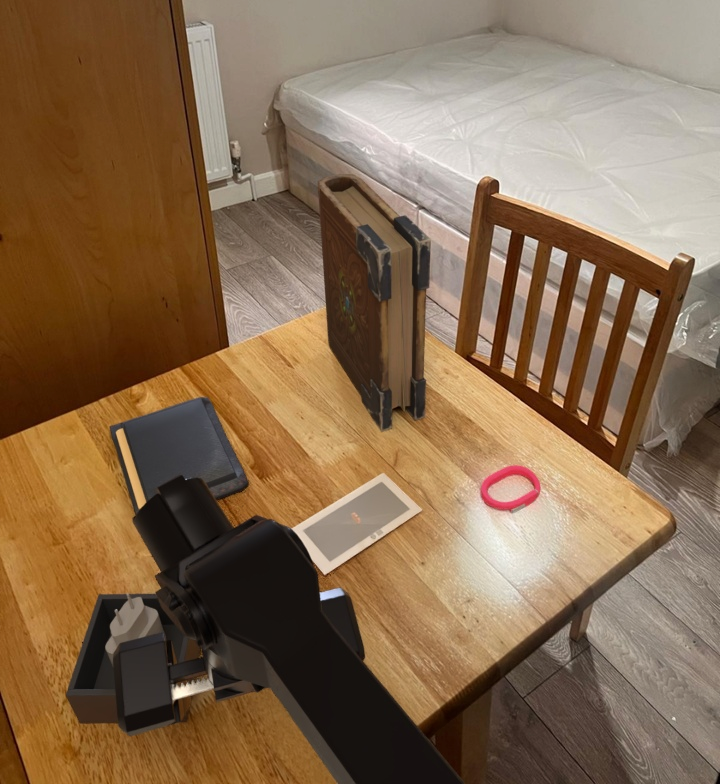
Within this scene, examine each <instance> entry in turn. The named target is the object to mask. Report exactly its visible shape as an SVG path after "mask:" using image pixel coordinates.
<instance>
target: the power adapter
mask: <svg viewBox="0 0 720 784" xmlns="http://www.w3.org/2000/svg"><path fill="white" fill-rule="evenodd" d="M125 594H126V595H127V598H128V601H127V602H126V603H125V604H124V605H123V607H122V608H121V610H120V611H119V612H118V610H117V609H116V610H115V613H116V617H115V618H114V620H113V621H112V622H111V624H110V630H111V633H112V636H111V638H110V639H109V641H108V642H107V644H106V646H105V648H106V651H107V654H108V656H109V658H110V661H111V663H112V666H113V653H114V651H115V650H116V648H117V647H118V645H119V644H120V643H122V642H126V641H130V640H134V639H138V638H142V637H146V636H150V635H154V634H158V633H161V632H164V631H163V627H162V624H161V621H160V618H159V615H158V612H157V611H156V610H155V609H153V608H150V607H147V606H145V605H144V604H143V601H142V598H141V597H137V598H134V599H131V597H130V595H129V594H130V592H127V593H125ZM166 641H167V640H166Z"/></svg>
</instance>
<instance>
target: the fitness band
mask: <svg viewBox="0 0 720 784" xmlns="http://www.w3.org/2000/svg"><path fill="white" fill-rule="evenodd" d="M513 475H517V476H523V477H525V478H526V479H528V480H529V481H530V482H531V483H532V484H533V487H534V489H532V490H531V491H529V492H527V493H525V494H523V496H520V497H518V498H517V499H513V500H511V501H510V500H509V501H499V500H496V499H494V498H492V497H491V496H490V495H489V492H488V489H489V488H490V487H491V486H492V485H494V484H496V483H498V482H500V481H502V480H503V479H506V478H507V477H510V476H513ZM540 493H541V481H540V480H539V478H538V476H537V475H536V474H535V473H534V472H533V471H532V470H531V469H530V468H528V467H526V466H523V465H517V464H516V465H515V464H513V465H509V466H508V465H507V466H506V467H503V468H501V469H499V470H497V471H496V472H493V473H492V474H490V475H489V476H487V477H486V478H485V479H484V480H483V482H482V483H481V487H480V496H481V499H482V500H483V502H484V503H485V504H486V505H487V506H489V507H491V508H494V509H497V510H508V511H509V512H510V513H511V514H514V513H516V512H518V511H520V510H522V509H524V508H526V507H527V506H529V505H530V504H532V503H534V501H536V500H537V499H538V497H539V496H540Z"/></svg>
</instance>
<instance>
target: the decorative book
mask: <svg viewBox="0 0 720 784" xmlns="http://www.w3.org/2000/svg"><path fill="white" fill-rule="evenodd" d="M317 193H318V194H317V195H318V209H319V222H320V223H319V224H320V225H319V226H320V237H321V238H320V239H321V251H322V252H321V253H322V254H321V255H322V269H323V285H324V286H323V287H324V300H325V312H326V329H327V341H328V347H329V348H330V350H331V352H332V353H333V354H334V356H335V358H336V360H338V362H339V364H340V365H341V367H342V369H343V370H344V372H345V373H346V375H347V376H348V378H349V379H350V381H351V382H352V384H353V386H354V387H355V389H356V390H357V392H358V393H359V395H360V396H361V403H362V405H363V406H364V408H365V410H366V411H367V413H368V414H369V415H370V418H371V419H372V420H373V421H374V424H375V425H376V426H377V428H378V430H379V431H380V432H381V433H383V432H387V431H389V430H392V429H393V409H395V408H397V407H400V408H401V410H402V411H403V412H406V411H407V412H408V414H409V415H410V417H411V419H412V420H413V421H414V422H415V421H418V420H421V419H424V418H426V395H427V394H426V393H427V379H426V378H425V377H424V373H425V348H426V347H425V344H426V310H427V289H430V283H431V282H430V281H431V280H430V279H431V251H432V249H431V248H432V238H430V237H429V236H428V235H427V234H426V233H425V232H424V231H423V230H422V229H421V228H420V227H419V226H418V225H417V224H415V222H413V220H411V218H409V217H408V216H407V214H405V215H399V213H398V212H397V211H395V209H393V208H392V207H391V206H390V205H389V204H388V202H386V201H385V200H384V199H383V198H382V197H381V196H380V195H379V194H378V193H377V192H376V190H373V188H372V187H370V185H368V183H367V182H366V181H364V179H362V178H361V177H359V176H357V175H355V174H352V173H351V174H350V173H339V174H333V175H329V176H325V177H322V178H321V179H319V180H318V181H317Z"/></svg>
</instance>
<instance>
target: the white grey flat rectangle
mask: <svg viewBox="0 0 720 784" xmlns="http://www.w3.org/2000/svg"><path fill="white" fill-rule="evenodd" d="M422 511H423V508H421V507H420V506H419V505H418V504H417V503H416V502H415V501H414V500H413V499H412V498H411V497H410V496H409V495H408V494H407V493H405V492H404V490H403V489H402V488H400V487H399V486H398V485H397V484H396V483H395V482H394V481H393V480H392V479H391V478H390V477H389V476H388V475H387V474H386V473H384V472H381V473H380V474H378V475H377V476H375V477H374V478H372V479H370V480H369V481H367V482H365V483H364V484H362V485H361V486H358V487H357V488H356V489H354V490H352V491H351V492H349V493H347V494H346V495H344V496H343V497H340V498H339V499H338V500H335V501H334V502H333V503H331V504H329V505H328V506H326V507H325V508H323V509H321V510H319V511H318V512H316V513H315V514H313V515H311V516H310V517H308V518H307V519H305V520H303V521H302V522H300V523H298V524H297V525H295V526H293V527H291V529H292V530H293V531H294V532H295V533H296V534H297V535H298V536H299V538H300V539H301V540H302V542H303V544H304V545H305V547H306V548H307V550H308V552H309V555H310V557H311V559H312V562H313V564H315V565H316V567H317V568H318V569H319V570H320V571H321V572H322V574H323V575H324V576H326V575H327V574H329V573H330V572H333V570H335V569H336V568H338V567H339V566H341V565H342V564H344V563H345V562H347V561H348V560H350V559H351V558H353V557H354V556H356V555H358V554H359V553H361V552H362V551H363V550H365V549H367V548H368V547H369V546H371V545H372V544H374V543H375V542H377V541H379V540H380V539H382V538H383V537H384V536H386V535H387V534H389V533H390V532H392V531H394V530H395V529H396V528H398V527H399V526H401V525H402V524H404V523H405V522H407V521H408V520H410V519H412V518H413V517H414V516H416V515H418V514H419V513H421V512H422Z"/></svg>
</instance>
